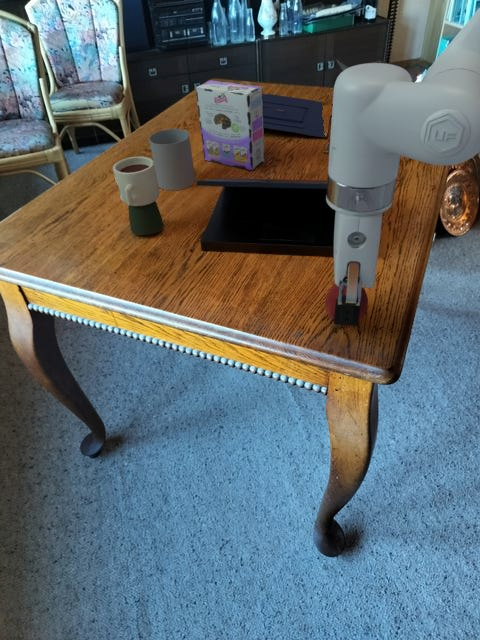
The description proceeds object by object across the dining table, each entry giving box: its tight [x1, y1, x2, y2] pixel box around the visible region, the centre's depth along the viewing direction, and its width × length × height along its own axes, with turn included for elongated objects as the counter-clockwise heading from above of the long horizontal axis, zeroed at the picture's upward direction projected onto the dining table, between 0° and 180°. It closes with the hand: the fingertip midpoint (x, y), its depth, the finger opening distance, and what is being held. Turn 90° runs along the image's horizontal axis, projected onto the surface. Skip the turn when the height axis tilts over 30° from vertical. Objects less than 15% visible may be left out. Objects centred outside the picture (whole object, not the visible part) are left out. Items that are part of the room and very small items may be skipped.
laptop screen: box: [195, 177, 327, 189], centre depth 84 cm, size 22×30×1 cm
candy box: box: [194, 79, 265, 171], centre depth 104 cm, size 14×6×16 cm, turn 57°
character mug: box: [112, 155, 165, 236], centre depth 85 cm, size 11×7×13 cm, turn 173°
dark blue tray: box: [262, 93, 325, 138], centre depth 126 cm, size 24×30×4 cm
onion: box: [324, 279, 369, 321], centre depth 64 cm, size 6×6×8 cm
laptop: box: [200, 187, 336, 258], centre depth 87 cm, size 22×30×2 cm
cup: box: [148, 128, 196, 192], centre depth 100 cm, size 8×8×10 cm
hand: (345, 306), depth 65 cm, fingers closed on onion, 6 cm apart
